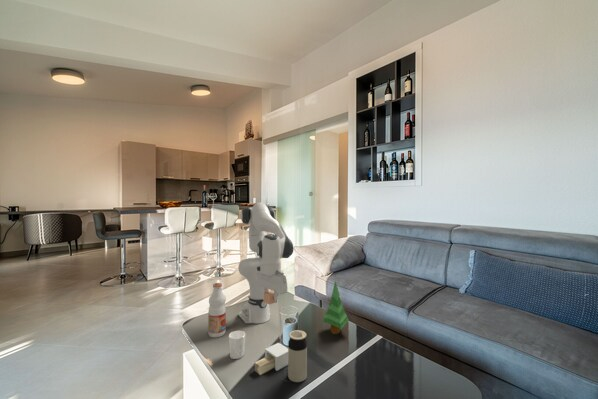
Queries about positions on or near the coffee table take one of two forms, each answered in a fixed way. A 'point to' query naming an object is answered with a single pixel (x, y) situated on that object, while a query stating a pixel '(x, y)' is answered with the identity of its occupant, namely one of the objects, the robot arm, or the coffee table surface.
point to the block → (269, 297)
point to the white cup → (237, 344)
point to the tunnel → (278, 355)
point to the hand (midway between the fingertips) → (271, 298)
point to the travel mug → (297, 356)
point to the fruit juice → (217, 312)
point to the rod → (265, 364)
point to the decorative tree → (335, 312)
